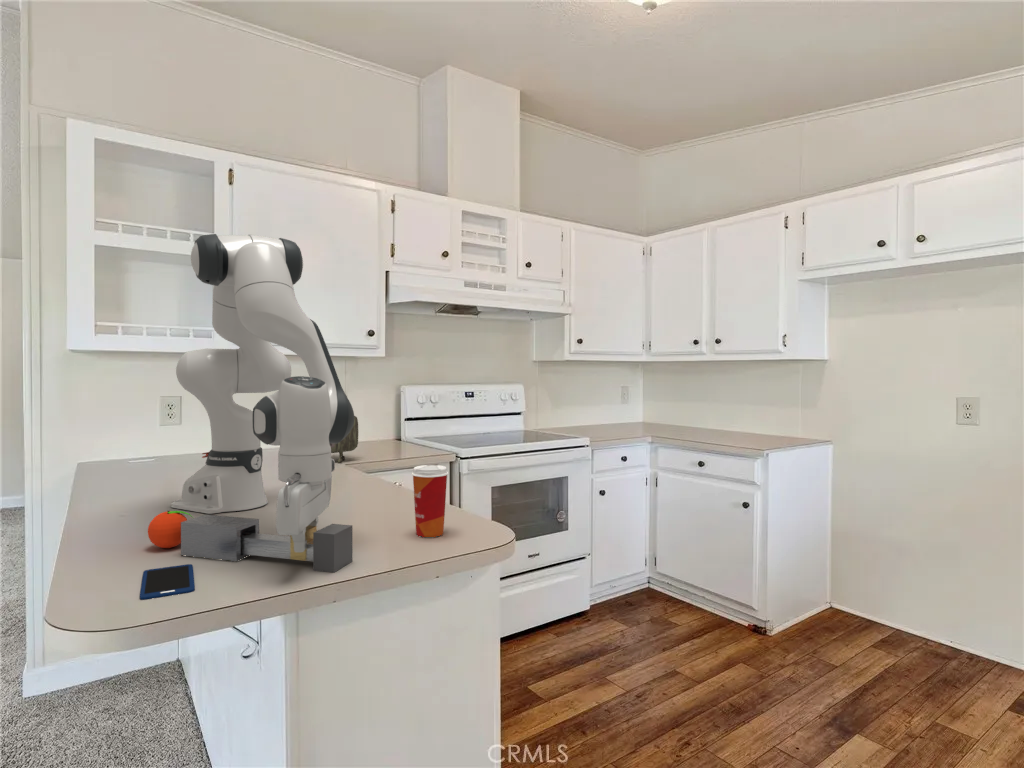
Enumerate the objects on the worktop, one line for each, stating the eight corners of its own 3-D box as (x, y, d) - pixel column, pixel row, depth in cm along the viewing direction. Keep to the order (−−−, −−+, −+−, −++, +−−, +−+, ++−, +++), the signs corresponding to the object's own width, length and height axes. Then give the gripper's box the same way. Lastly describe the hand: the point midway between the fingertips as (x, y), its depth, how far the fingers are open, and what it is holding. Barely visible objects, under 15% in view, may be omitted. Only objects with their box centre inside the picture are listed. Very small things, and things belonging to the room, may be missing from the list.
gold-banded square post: (232, 553, 107) (232, 524, 107) (245, 548, 110) (245, 520, 110) (325, 563, 102) (325, 532, 102) (336, 557, 105) (336, 527, 105)
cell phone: (139, 603, 88) (139, 598, 88) (143, 574, 100) (143, 569, 100) (195, 594, 91) (195, 589, 91) (192, 567, 103) (192, 563, 103)
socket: (313, 570, 101) (313, 532, 101) (332, 559, 107) (332, 523, 107) (334, 572, 100) (334, 534, 100) (352, 561, 106) (352, 525, 106)
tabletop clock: (316, 460, 220) (316, 392, 219) (338, 457, 227) (338, 392, 226) (338, 464, 211) (338, 394, 210) (360, 461, 217) (360, 393, 217)
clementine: (196, 539, 119) (195, 504, 118) (195, 549, 112) (195, 512, 112) (149, 544, 115) (149, 508, 115) (146, 555, 109) (145, 516, 109)
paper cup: (415, 528, 128) (415, 464, 127) (450, 529, 127) (450, 464, 127) (407, 539, 120) (407, 470, 119) (445, 539, 120) (445, 471, 119)
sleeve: (181, 555, 108) (180, 522, 108) (205, 546, 114) (205, 514, 114) (236, 561, 105) (236, 527, 105) (259, 551, 111) (259, 519, 111)
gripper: (305, 480, 94) (305, 565, 95) (337, 459, 115) (337, 530, 115) (265, 480, 94) (265, 566, 94) (304, 459, 114) (304, 530, 115)
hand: (305, 546), depth 105 cm, fingers open, 4 cm apart
